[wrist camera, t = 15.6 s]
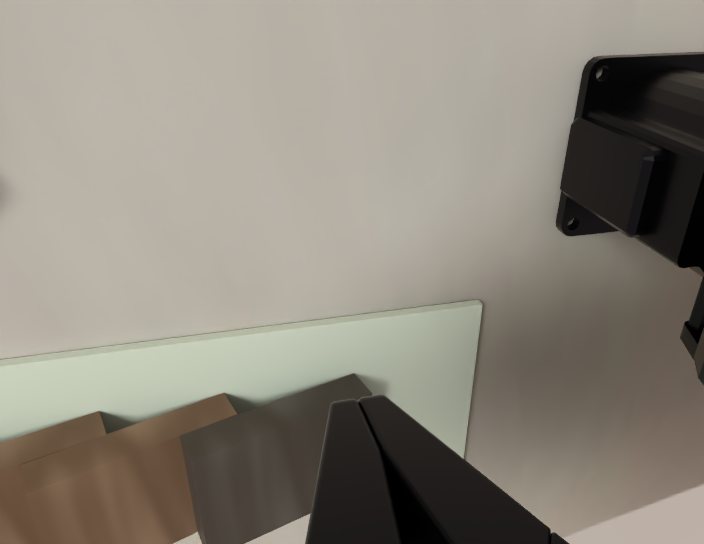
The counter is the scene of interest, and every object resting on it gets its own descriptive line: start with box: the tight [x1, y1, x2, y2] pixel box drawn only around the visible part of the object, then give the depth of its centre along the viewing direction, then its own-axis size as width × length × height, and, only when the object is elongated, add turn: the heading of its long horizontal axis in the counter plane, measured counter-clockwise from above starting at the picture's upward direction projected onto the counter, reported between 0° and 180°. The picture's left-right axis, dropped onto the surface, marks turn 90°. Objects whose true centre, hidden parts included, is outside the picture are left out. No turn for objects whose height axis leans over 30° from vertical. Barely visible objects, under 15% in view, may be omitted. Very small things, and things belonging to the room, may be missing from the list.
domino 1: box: [0, 411, 106, 544], centre depth 21 cm, size 1×5×7 cm
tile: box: [180, 373, 372, 544], centre depth 23 cm, size 1×5×7 cm
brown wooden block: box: [21, 393, 238, 544], centre depth 22 cm, size 1×5×7 cm
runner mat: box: [0, 300, 482, 534], centre depth 23 cm, size 28×10×1 cm, turn 90°
